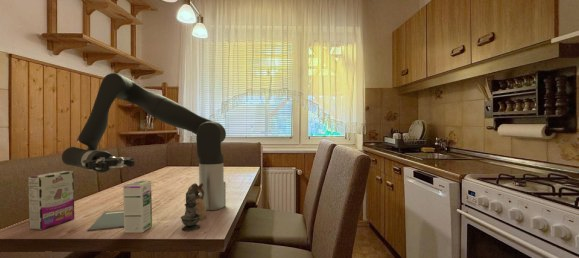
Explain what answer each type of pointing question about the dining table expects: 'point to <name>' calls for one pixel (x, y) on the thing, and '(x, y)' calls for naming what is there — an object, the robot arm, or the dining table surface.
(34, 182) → the candy bar box
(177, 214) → the dining table surface
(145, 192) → the syrup box
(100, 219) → the mat
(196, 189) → the figurine
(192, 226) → the dark grey chess piece
